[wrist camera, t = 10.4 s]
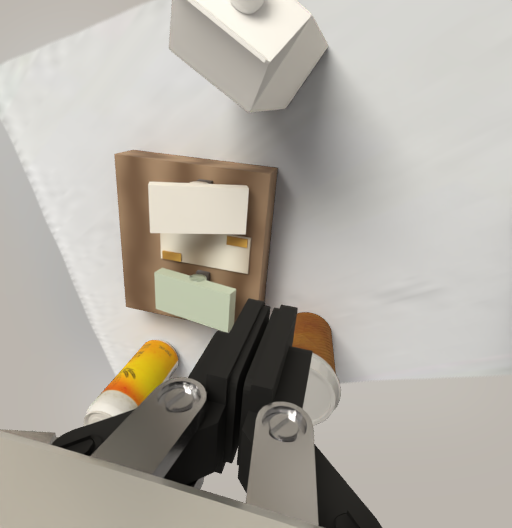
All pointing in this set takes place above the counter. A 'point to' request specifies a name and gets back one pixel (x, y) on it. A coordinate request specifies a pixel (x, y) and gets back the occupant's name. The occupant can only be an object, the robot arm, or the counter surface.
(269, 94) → the milk carton
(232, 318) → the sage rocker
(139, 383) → the beer can
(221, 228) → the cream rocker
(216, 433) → the robot arm
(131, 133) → the counter surface
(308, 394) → the disposable coffee cup
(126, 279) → the switch unit
